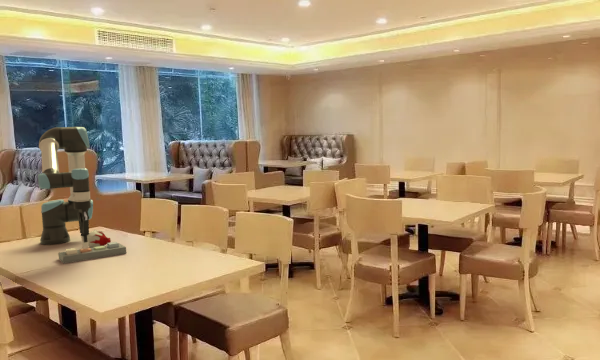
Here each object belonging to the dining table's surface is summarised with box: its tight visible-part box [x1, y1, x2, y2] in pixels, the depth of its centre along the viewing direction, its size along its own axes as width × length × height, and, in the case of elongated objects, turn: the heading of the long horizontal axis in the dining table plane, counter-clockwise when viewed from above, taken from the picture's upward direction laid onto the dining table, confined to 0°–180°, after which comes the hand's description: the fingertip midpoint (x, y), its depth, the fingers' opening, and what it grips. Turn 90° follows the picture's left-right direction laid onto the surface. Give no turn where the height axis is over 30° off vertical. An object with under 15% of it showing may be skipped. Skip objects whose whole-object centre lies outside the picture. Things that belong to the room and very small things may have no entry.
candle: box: [88, 229, 112, 248], centre depth 269 cm, size 9×11×15 cm
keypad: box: [58, 242, 127, 264], centre depth 249 cm, size 11×29×3 cm, turn 126°
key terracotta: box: [79, 247, 92, 253], centre depth 247 cm, size 4×4×3 cm
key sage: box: [94, 245, 105, 251], centre depth 251 cm, size 4×4×3 cm
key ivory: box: [64, 247, 78, 255], centre depth 244 cm, size 4×4×3 cm
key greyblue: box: [106, 241, 119, 248], centre depth 255 cm, size 4×4×3 cm
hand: (85, 248), depth 247 cm, fingers closed
